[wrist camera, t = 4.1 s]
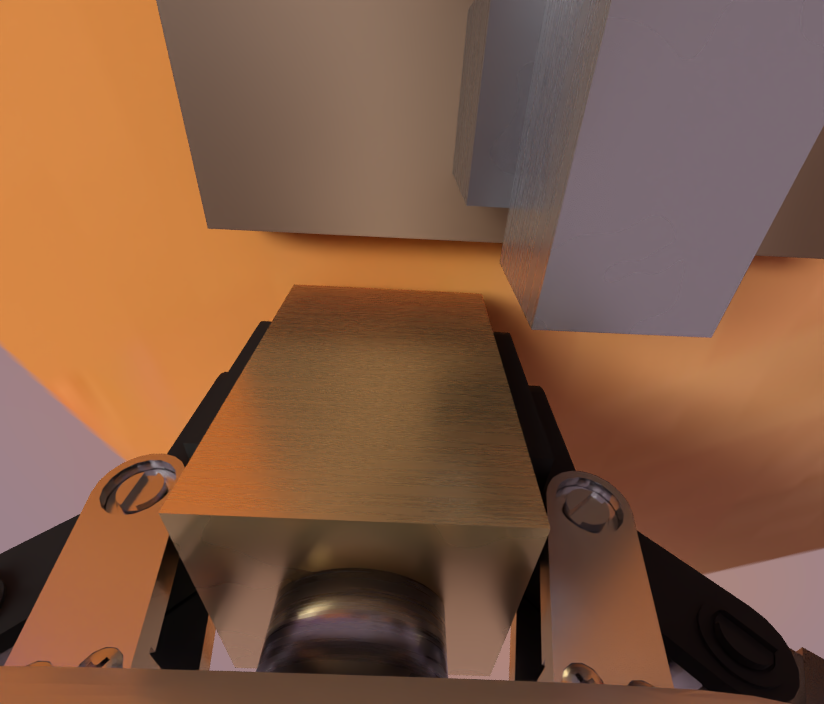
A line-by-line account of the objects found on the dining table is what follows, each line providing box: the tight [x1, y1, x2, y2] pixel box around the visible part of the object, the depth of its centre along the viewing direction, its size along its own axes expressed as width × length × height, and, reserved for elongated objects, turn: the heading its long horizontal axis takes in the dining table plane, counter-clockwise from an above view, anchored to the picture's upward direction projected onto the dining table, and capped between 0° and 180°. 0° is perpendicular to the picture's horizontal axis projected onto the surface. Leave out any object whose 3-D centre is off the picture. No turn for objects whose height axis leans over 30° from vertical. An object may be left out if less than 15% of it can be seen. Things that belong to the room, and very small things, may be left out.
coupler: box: [159, 285, 551, 678], centre depth 8 cm, size 4×4×7 cm
